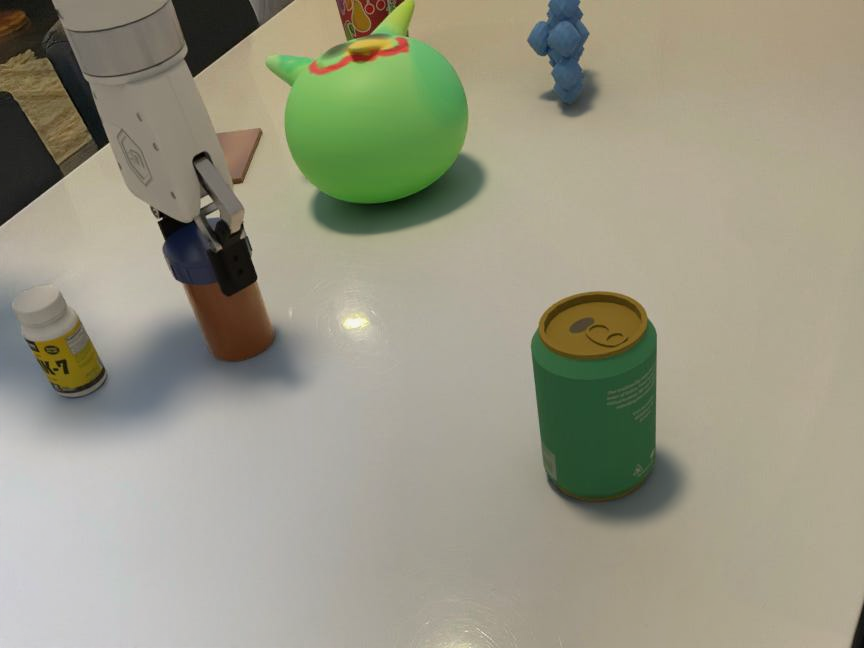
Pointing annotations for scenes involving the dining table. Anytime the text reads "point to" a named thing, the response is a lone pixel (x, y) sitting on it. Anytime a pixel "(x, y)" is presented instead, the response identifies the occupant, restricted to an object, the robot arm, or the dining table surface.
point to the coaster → (239, 150)
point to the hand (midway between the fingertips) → (215, 271)
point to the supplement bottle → (59, 341)
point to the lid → (192, 254)
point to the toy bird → (374, 114)
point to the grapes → (562, 46)
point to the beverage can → (596, 394)
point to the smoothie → (364, 15)
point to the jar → (231, 320)
